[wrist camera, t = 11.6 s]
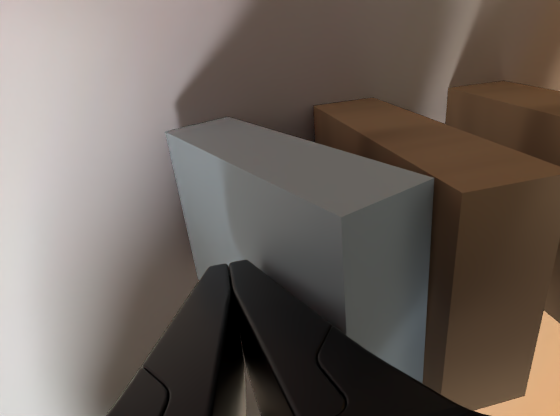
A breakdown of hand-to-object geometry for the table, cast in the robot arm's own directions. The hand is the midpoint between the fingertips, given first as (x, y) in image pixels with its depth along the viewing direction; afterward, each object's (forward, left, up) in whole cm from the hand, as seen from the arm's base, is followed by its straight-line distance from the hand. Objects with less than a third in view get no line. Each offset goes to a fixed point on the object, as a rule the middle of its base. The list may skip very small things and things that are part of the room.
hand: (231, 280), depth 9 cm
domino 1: (0, 0, -5) cm, 5 cm away
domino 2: (0, -4, -5) cm, 7 cm away
